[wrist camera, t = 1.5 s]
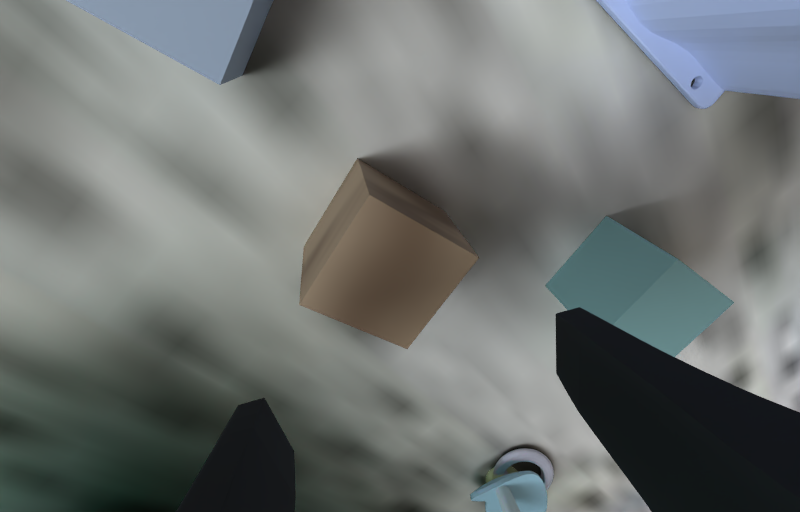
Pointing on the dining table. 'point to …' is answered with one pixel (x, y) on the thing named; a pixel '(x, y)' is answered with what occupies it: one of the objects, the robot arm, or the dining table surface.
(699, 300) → the green block
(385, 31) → the dining table surface
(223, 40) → the slate base block
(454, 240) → the walnut block
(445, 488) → the dining table surface
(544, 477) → the pacifier
